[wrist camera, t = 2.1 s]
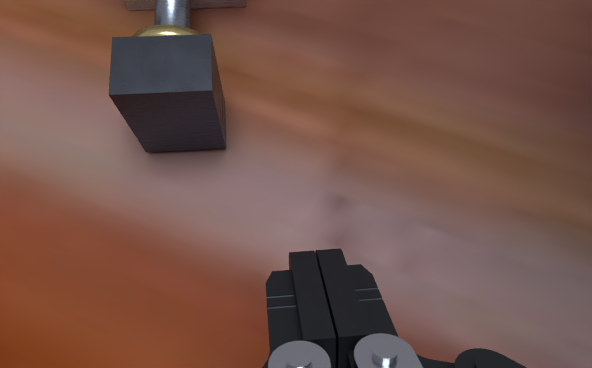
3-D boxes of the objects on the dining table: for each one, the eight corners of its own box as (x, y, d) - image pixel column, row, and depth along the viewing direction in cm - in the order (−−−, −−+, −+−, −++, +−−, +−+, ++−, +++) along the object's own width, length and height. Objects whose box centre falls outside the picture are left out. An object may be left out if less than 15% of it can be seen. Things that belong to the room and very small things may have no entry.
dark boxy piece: (152, -41, 42) (123, -134, 34) (220, -43, 42) (207, -135, 34) (146, 152, 36) (108, 94, 28) (225, 147, 36) (211, 90, 28)
